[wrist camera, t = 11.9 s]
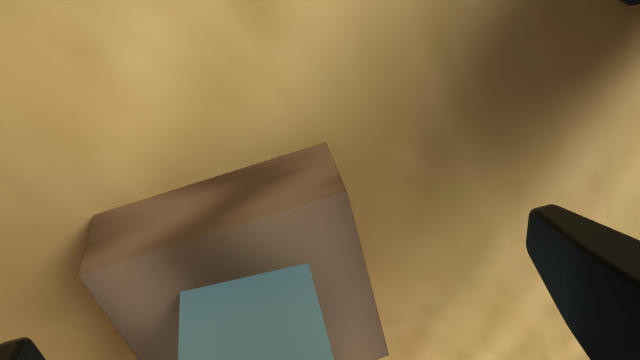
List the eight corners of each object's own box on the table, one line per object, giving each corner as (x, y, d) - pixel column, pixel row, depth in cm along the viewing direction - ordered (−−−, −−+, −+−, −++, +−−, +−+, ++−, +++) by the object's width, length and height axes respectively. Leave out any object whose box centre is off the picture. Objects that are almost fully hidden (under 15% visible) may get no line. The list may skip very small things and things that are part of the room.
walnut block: (324, 137, 22) (346, 191, 19) (366, 294, 28) (389, 355, 25) (94, 209, 22) (77, 276, 19) (185, 352, 28) (184, 422, 25)
